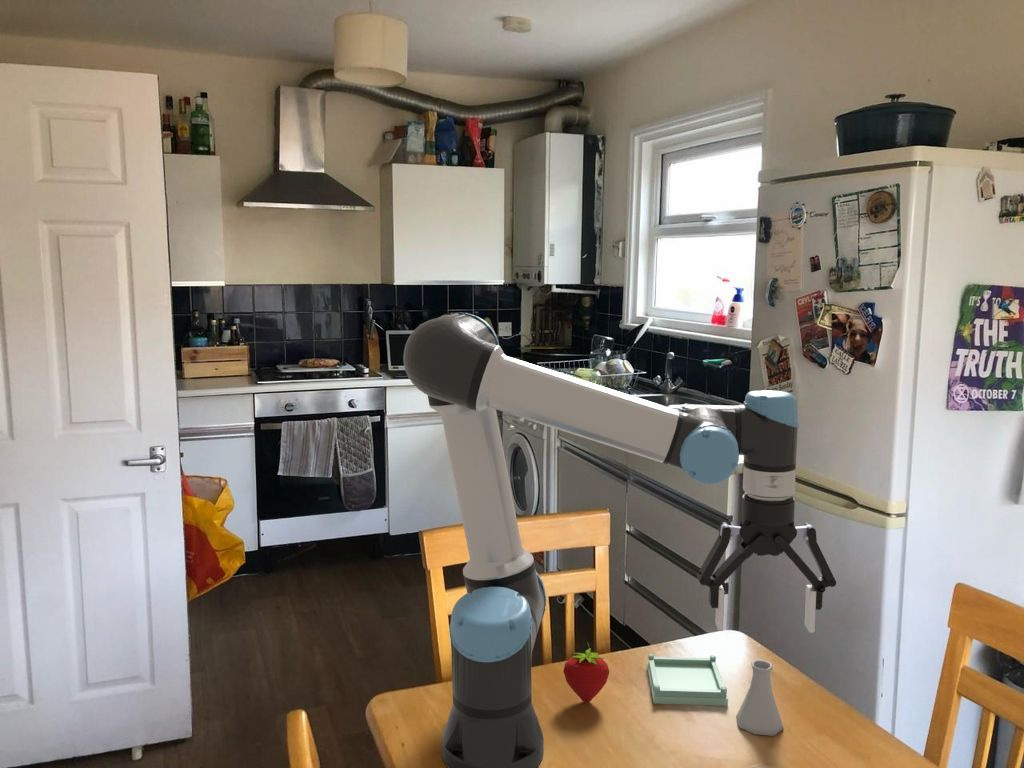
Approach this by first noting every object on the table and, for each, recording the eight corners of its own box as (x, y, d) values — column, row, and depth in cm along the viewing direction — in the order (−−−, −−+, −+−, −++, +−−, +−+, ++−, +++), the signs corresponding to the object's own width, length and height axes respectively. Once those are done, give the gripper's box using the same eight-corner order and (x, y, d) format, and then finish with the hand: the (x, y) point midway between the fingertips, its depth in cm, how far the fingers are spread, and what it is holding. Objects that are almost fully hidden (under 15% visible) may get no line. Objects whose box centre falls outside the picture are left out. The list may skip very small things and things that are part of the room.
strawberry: (562, 691, 140) (562, 636, 138) (607, 692, 139) (608, 636, 138) (563, 710, 134) (563, 652, 132) (610, 711, 133) (610, 653, 132)
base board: (653, 703, 136) (653, 688, 135) (647, 667, 148) (647, 653, 147) (727, 705, 135) (728, 690, 134) (715, 669, 147) (715, 655, 146)
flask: (730, 729, 128) (732, 669, 127) (741, 707, 134) (743, 649, 133) (779, 742, 125) (781, 680, 123) (787, 718, 131) (790, 659, 130)
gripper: (687, 500, 121) (685, 637, 124) (862, 502, 119) (855, 640, 123) (681, 486, 129) (679, 615, 132) (845, 487, 127) (839, 618, 130)
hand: (764, 628), depth 127 cm, fingers open, 13 cm apart
